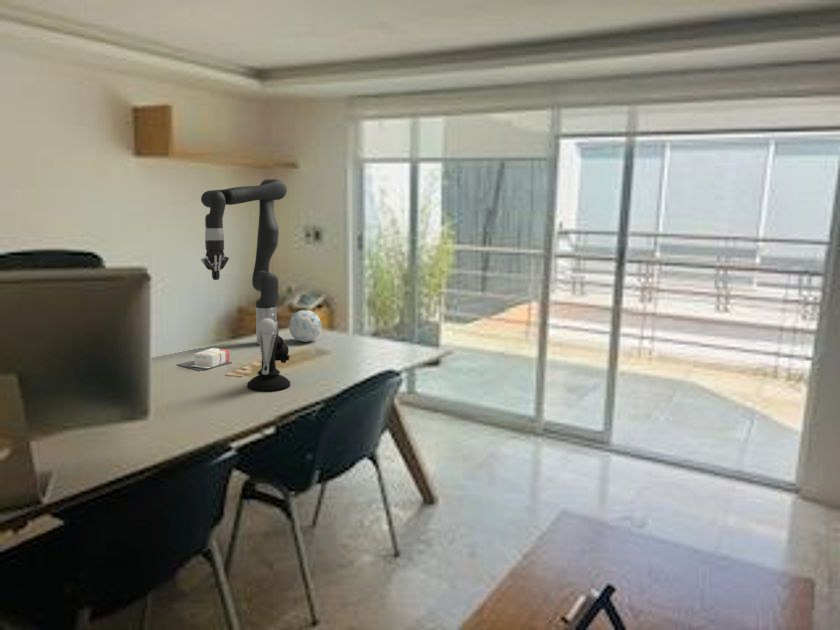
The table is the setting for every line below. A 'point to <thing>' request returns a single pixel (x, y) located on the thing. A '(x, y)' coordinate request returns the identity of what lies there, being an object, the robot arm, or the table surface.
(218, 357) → the ink cartridge box
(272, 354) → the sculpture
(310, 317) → the puzzle ball
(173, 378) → the table surface
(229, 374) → the beech turner
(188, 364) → the rubber mat
